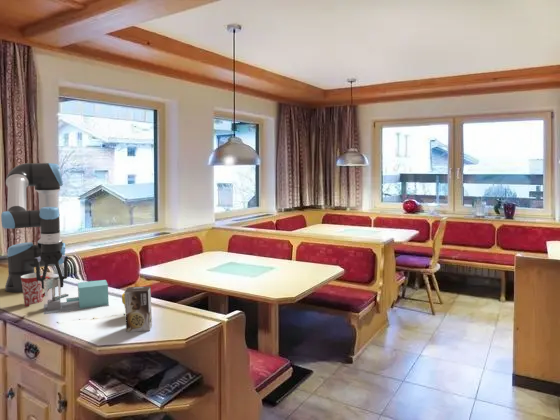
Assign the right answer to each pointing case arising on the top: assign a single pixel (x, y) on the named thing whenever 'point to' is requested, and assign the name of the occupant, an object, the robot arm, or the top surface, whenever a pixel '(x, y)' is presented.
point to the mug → (32, 289)
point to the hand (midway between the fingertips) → (53, 295)
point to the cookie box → (138, 309)
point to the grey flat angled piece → (53, 287)
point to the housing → (64, 306)
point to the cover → (91, 294)
